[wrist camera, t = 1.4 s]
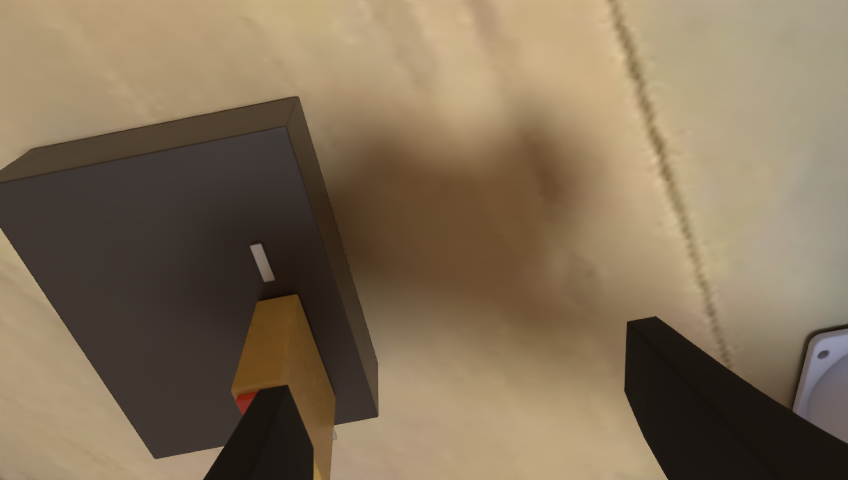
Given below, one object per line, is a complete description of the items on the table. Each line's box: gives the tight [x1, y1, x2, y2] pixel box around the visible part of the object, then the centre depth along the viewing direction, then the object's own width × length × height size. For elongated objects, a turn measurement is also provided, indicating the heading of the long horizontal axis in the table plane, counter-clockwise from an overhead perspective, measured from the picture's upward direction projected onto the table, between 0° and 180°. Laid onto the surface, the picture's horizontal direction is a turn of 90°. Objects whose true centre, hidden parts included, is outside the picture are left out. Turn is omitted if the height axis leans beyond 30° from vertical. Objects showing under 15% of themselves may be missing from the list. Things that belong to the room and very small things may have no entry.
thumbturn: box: [231, 294, 336, 480], centre depth 17 cm, size 5×1×4 cm, turn 10°
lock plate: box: [0, 97, 379, 459], centre depth 20 cm, size 13×9×3 cm
